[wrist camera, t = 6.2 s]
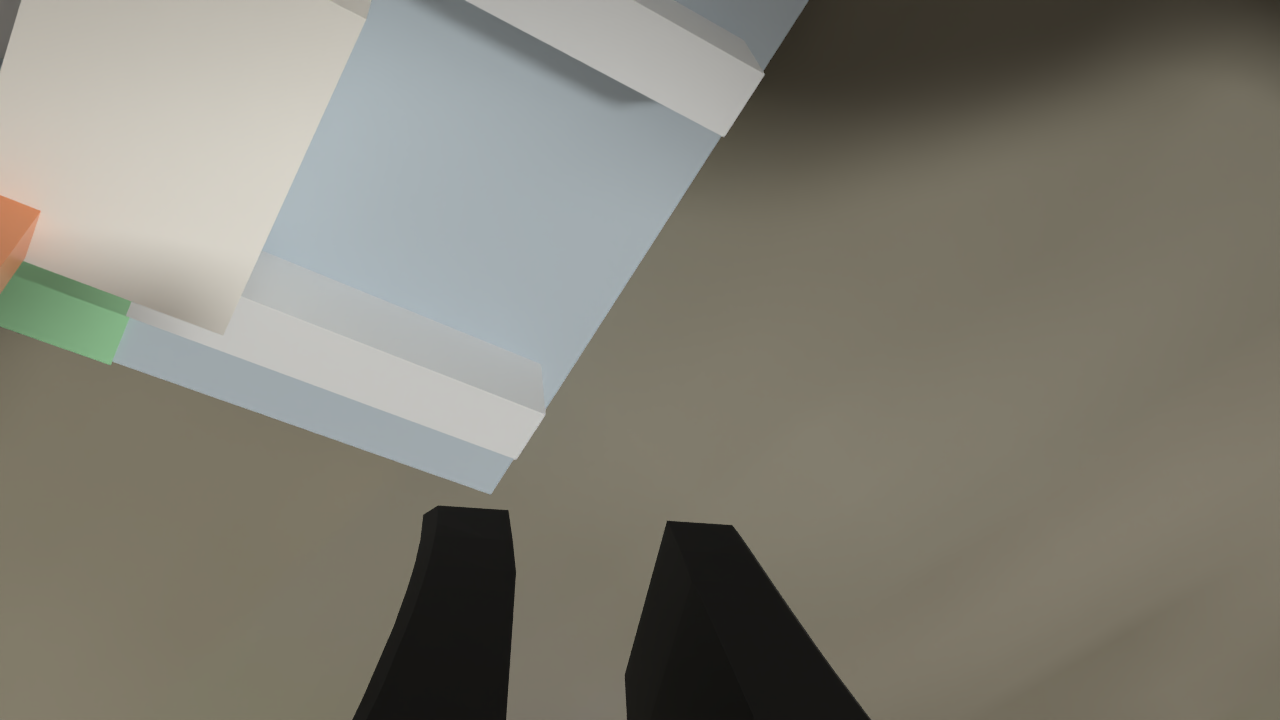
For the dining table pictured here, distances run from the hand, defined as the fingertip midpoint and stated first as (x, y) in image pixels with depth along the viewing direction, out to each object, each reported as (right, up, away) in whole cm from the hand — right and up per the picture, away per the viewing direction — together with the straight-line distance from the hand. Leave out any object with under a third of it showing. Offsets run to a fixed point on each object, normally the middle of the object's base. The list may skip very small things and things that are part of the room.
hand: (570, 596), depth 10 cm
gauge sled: (-6, +7, +4) cm, 10 cm away
